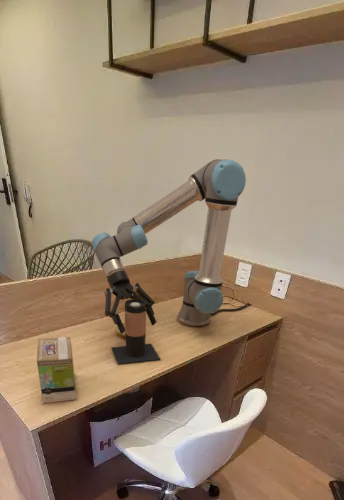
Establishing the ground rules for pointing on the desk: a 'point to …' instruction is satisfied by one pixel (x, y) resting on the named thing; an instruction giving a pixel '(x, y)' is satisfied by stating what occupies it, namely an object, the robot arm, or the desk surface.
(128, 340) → the travel mug
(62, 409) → the desk surface
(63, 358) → the tea box
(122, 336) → the decorated donut
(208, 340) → the desk surface
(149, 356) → the desk mat
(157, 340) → the desk surface
